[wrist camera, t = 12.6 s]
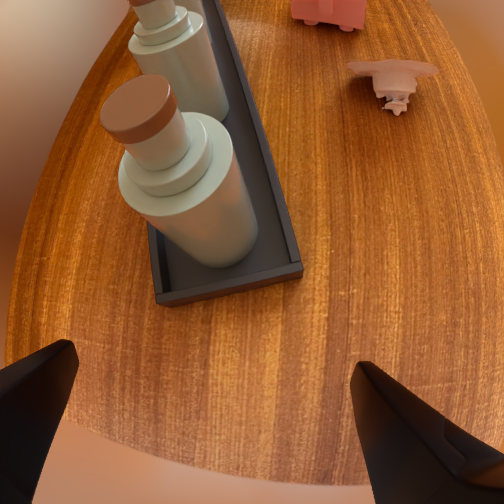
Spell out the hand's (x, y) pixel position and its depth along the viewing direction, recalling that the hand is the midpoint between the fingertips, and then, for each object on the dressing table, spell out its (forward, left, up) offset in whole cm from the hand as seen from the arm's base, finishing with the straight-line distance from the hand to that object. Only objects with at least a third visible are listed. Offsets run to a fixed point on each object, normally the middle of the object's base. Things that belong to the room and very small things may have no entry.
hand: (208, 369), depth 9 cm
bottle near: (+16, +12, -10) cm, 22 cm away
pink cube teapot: (+36, +5, -11) cm, 38 cm away
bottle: (+7, +5, -10) cm, 13 cm away
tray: (+20, +15, -11) cm, 27 cm away
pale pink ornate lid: (+24, -3, -11) cm, 26 cm away
